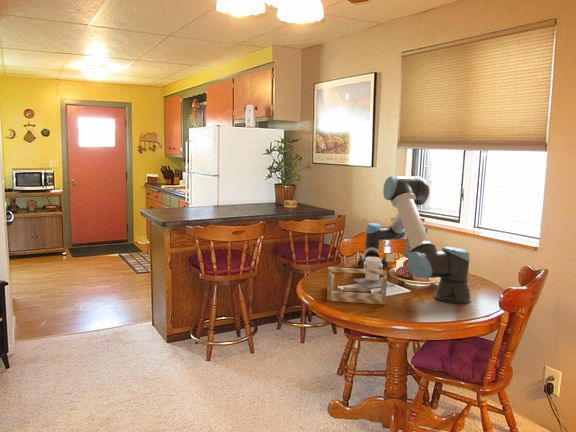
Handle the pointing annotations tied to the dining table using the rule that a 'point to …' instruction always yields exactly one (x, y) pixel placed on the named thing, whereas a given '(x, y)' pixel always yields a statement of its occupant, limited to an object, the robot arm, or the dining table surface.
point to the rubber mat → (371, 283)
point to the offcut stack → (357, 290)
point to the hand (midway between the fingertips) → (373, 268)
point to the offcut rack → (356, 296)
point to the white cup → (372, 267)
